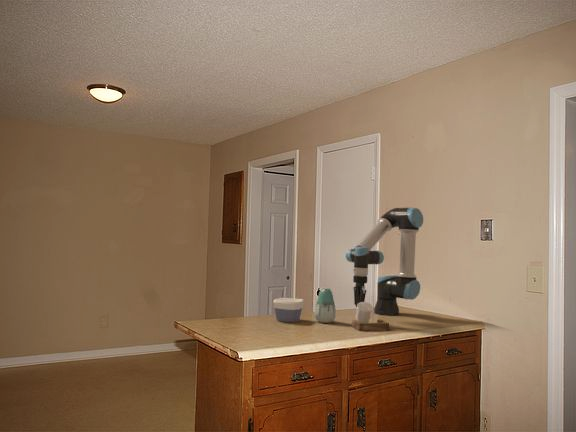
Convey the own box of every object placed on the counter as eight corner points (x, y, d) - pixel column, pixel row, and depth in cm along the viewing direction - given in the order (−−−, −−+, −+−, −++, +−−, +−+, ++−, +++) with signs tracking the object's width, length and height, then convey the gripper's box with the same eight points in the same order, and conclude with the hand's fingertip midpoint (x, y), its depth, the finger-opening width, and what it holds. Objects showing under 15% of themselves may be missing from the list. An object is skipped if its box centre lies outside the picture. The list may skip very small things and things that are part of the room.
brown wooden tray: (352, 326, 251) (352, 320, 251) (380, 326, 255) (380, 319, 255) (359, 330, 242) (359, 323, 242) (389, 330, 246) (389, 323, 246)
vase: (311, 322, 259) (312, 289, 259) (317, 319, 270) (318, 286, 270) (332, 324, 255) (333, 290, 255) (338, 321, 266) (339, 288, 266)
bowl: (269, 321, 259) (270, 300, 260) (280, 316, 273) (281, 297, 274) (296, 324, 253) (296, 302, 254) (306, 319, 268) (306, 299, 268)
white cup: (359, 327, 254) (362, 312, 250) (351, 318, 260) (354, 303, 256) (372, 324, 257) (375, 309, 253) (363, 315, 264) (366, 300, 259)
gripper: (349, 273, 268) (347, 316, 267) (358, 276, 255) (356, 321, 255) (362, 274, 270) (360, 317, 269) (371, 276, 257) (369, 321, 257)
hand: (358, 319), depth 262 cm, fingers closed
